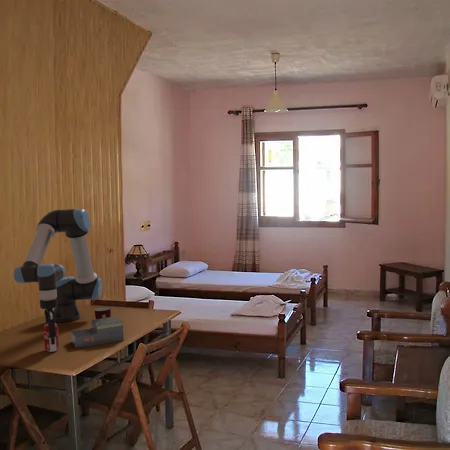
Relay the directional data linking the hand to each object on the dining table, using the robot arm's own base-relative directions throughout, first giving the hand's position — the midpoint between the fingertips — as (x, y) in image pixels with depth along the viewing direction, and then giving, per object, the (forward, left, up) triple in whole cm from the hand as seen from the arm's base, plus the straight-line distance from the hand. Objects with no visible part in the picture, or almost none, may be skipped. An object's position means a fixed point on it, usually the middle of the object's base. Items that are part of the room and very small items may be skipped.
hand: (52, 349), depth 249 cm
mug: (-24, +28, -1) cm, 37 cm away
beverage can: (0, 0, -1) cm, 1 cm away
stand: (-3, +21, -2) cm, 21 cm away
